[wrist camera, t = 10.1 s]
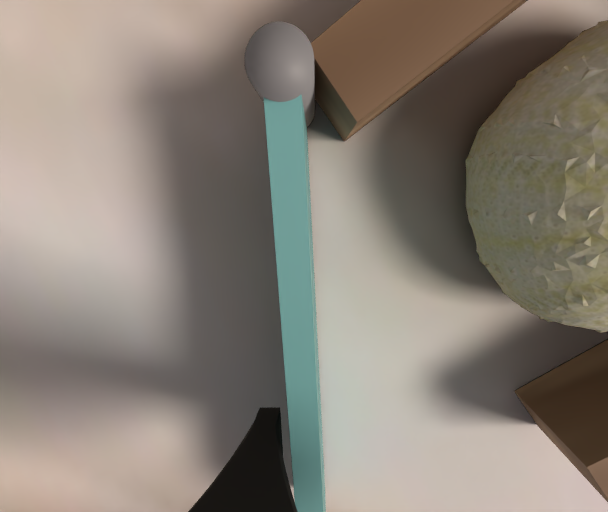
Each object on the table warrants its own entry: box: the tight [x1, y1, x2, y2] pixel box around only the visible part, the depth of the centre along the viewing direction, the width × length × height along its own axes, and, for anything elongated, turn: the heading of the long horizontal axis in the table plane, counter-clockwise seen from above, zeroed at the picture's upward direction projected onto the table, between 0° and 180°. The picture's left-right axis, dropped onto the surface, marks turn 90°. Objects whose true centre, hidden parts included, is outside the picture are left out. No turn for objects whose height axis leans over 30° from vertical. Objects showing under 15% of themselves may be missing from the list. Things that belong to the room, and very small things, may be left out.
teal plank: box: [245, 22, 326, 512], centre depth 10 cm, size 17×1×4 cm, turn 3°
